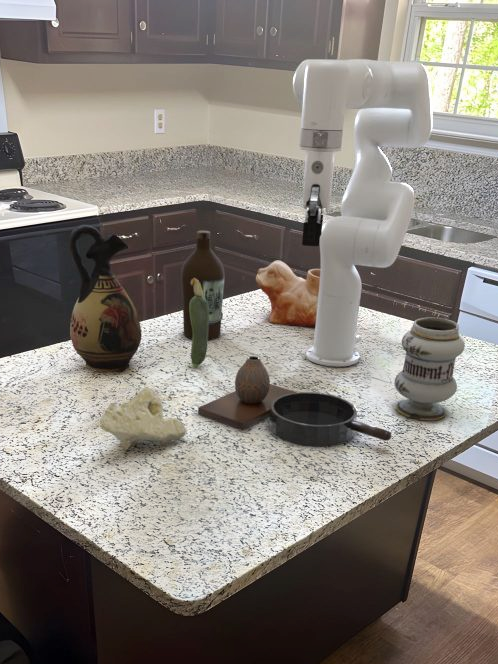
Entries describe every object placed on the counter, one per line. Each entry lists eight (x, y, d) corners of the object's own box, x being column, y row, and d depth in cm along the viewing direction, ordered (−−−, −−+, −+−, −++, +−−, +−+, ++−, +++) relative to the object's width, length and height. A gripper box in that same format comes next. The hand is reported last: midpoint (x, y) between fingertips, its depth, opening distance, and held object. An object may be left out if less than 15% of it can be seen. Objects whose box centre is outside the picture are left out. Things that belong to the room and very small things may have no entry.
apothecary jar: (385, 417, 143) (400, 327, 133) (395, 395, 152) (408, 311, 143) (448, 427, 139) (467, 336, 130) (453, 405, 149) (471, 318, 140)
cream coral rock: (170, 433, 138) (106, 386, 132) (193, 414, 133) (128, 364, 127) (150, 490, 128) (79, 443, 122) (173, 472, 123) (101, 421, 117)
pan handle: (351, 426, 133) (352, 417, 132) (392, 440, 128) (393, 430, 127) (346, 429, 131) (347, 420, 130) (387, 443, 127) (389, 434, 126)
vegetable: (209, 365, 165) (211, 276, 155) (206, 371, 161) (208, 280, 151) (190, 364, 165) (190, 274, 155) (187, 370, 162) (187, 279, 151)
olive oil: (172, 333, 184) (172, 230, 171) (203, 326, 190) (204, 226, 177) (200, 344, 178) (202, 237, 165) (231, 335, 184) (235, 232, 171)
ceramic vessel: (259, 308, 206) (262, 254, 198) (351, 318, 201) (357, 262, 193) (248, 322, 195) (251, 265, 187) (345, 332, 189) (352, 274, 182)
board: (258, 386, 154) (258, 380, 154) (301, 400, 149) (301, 393, 148) (198, 414, 141) (198, 407, 140) (242, 430, 135) (242, 423, 134)
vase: (272, 396, 146) (275, 354, 141) (263, 409, 140) (265, 366, 136) (240, 391, 148) (242, 350, 143) (229, 403, 142) (231, 361, 138)
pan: (299, 404, 147) (301, 385, 145) (370, 426, 138) (372, 407, 136) (252, 428, 136) (253, 409, 134) (325, 454, 127) (327, 434, 125)
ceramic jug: (133, 352, 171) (129, 218, 155) (148, 375, 158) (145, 231, 143) (61, 358, 166) (49, 220, 150) (71, 381, 154) (58, 233, 138)
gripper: (341, 145, 122) (330, 250, 131) (342, 138, 136) (332, 233, 145) (296, 143, 123) (289, 248, 132) (302, 136, 137) (295, 231, 146)
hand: (311, 240), depth 138 cm, fingers open, 9 cm apart
